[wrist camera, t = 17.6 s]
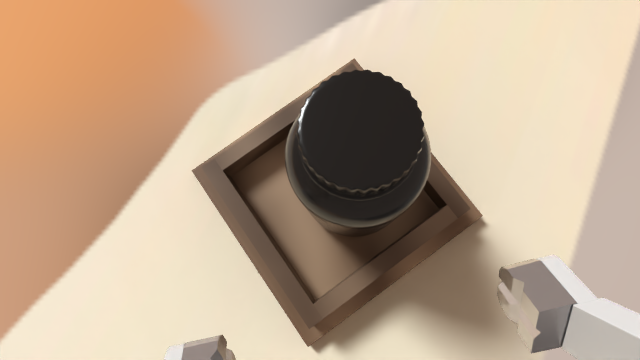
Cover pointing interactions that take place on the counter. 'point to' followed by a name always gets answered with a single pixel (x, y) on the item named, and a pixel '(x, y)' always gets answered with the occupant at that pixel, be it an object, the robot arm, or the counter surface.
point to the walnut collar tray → (321, 227)
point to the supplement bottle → (358, 153)
